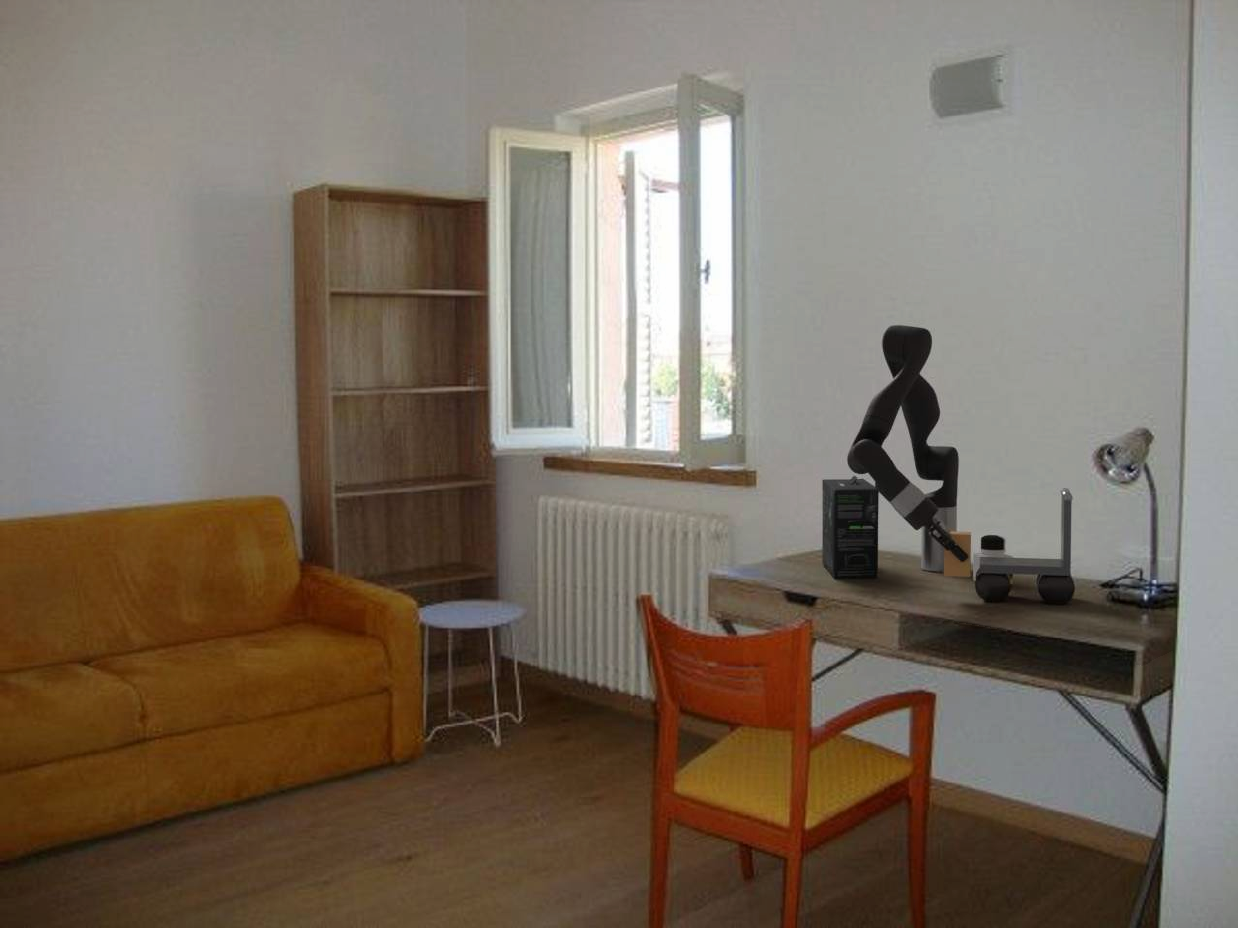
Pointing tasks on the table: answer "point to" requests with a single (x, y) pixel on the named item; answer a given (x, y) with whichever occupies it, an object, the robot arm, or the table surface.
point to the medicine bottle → (990, 551)
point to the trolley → (1032, 568)
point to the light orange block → (952, 562)
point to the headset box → (850, 528)
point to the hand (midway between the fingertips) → (965, 557)
